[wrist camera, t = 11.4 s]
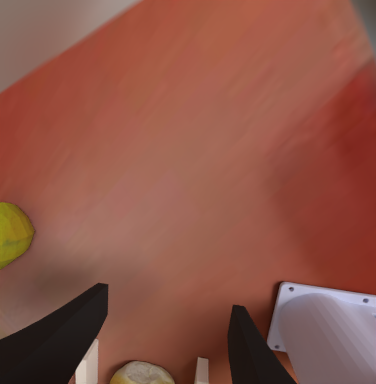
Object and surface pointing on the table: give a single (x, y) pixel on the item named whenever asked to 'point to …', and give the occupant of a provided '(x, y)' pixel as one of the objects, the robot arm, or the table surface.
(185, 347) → the table surface
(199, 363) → the pocket
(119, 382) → the bread roll
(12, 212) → the fruit
